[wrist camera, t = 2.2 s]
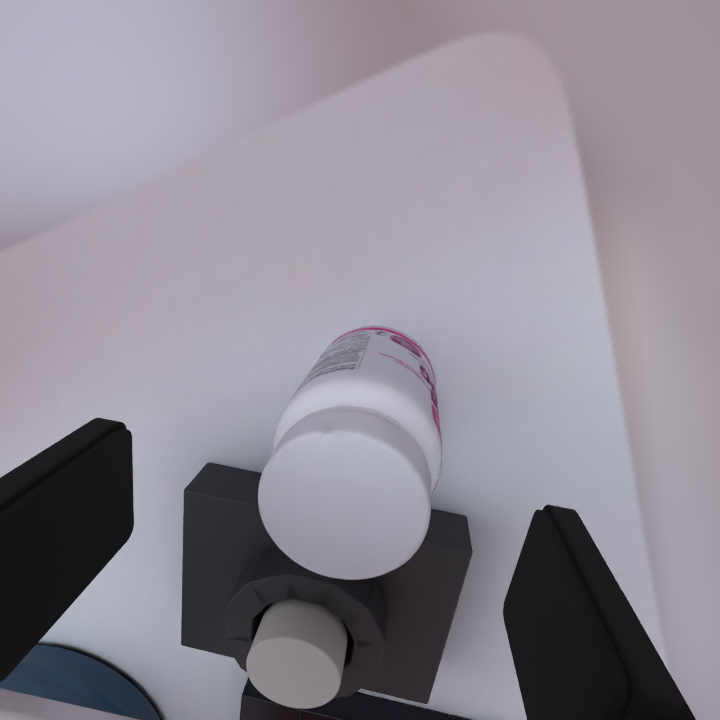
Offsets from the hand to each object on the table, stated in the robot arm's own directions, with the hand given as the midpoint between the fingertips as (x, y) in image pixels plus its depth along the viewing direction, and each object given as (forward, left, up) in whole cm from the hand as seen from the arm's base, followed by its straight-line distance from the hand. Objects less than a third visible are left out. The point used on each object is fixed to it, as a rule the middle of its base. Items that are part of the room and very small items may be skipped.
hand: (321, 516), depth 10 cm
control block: (+1, +10, -8) cm, 13 cm away
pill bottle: (0, 0, -9) cm, 9 cm away
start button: (+1, +10, -5) cm, 11 cm away
